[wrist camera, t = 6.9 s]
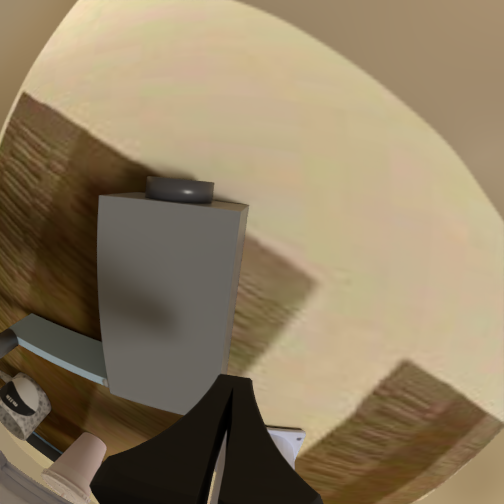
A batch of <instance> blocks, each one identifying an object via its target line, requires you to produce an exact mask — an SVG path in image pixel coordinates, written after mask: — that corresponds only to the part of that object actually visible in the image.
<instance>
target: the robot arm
mask: <svg viewBox="0 0 504 504" xmlns="http://www.w3.org/2000/svg"><path fill="white" fill-rule="evenodd" d="M305 435H306V434H305V431H303V430H291V429H279V428H268V427H266V426H265V424H264V422H263V419H262V417H261V414H260V411H259V409H258V406H257V403H256V399H255V395H254V391H253V385H252V380H251V379H250V378H244V377H238V376H232V375H226V374H219V375H218V376H217V378H216V380H215V382H214V383H213V385H212V386H211V387H210V389H209V390H208V391H207V392H206V394H205V395H204V396H203V397H202V398H201V399H200V401H199V402H198V403H197V404H196V405H195V406H194V407H193V408H192V409H191V410H190V411H189V412H188V413H187V414H185V415H184V416H183V417H182V418H181V419H180V420H178V421H177V422H176V423H175V424H173V425H172V426H171V427H169V428H168V429H166V430H165V431H163V432H162V433H160V434H159V435H157V436H155V437H154V438H152V439H150V440H148V441H146V442H144V443H142V444H140V445H138V446H136V447H134V448H131V449H129V450H126V451H123V452H121V453H118V454H115V455H112V456H109V457H108V458H107V459H106V460H105V461H104V462H103V463H102V465H101V466H100V467H99V468H98V470H97V471H96V473H95V475H94V477H93V479H92V480H91V482H90V485H89V487H90V489H91V491H92V493H93V495H94V496H95V498H96V499H97V501H98V502H99V504H207V501H208V496H209V491H210V486H211V481H212V476H213V472H214V469H215V471H216V476H215V481H214V486H213V491H212V496H211V501H210V504H323V501H322V499H321V496H320V494H318V493H317V492H316V491H315V490H314V489H313V488H311V487H310V486H309V485H308V484H307V483H306V482H305V481H304V480H303V479H302V478H301V477H300V476H299V475H298V474H297V473H296V472H295V467H294V460H295V458H296V456H297V454H298V452H299V449H300V447H301V445H302V443H303V440H304V438H305ZM299 437H300V438H299ZM0 504H73V503H72V502H70V501H68V500H66V499H64V498H63V497H61V496H59V495H57V494H56V493H54V492H52V491H51V490H49V489H47V488H46V487H44V486H43V485H41V484H39V483H38V482H36V481H35V480H33V479H32V478H30V477H29V476H27V475H26V474H25V473H23V472H22V471H20V470H19V469H18V468H16V467H15V466H14V465H12V464H11V463H10V462H8V461H7V459H6V457H5V456H4V454H3V453H2V452H1V451H0Z"/></svg>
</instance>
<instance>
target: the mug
mask: <svg viewBox="0 0 504 504" xmlns="http://www.w3.org/2000/svg"><path fill="white" fill-rule="evenodd" d="M0 378H1V379H3V380H4V381H5V382H6V384H5V385H4V386H3V387H2V388H1V389H0V421H1V423H2V424H3V425H4V426H5V427H6V428H7V429H8V430H9V431H10V432H11V433H12V434H13V435H15V436H16V437H17V438H19V439H21V440H23V441H25V440H26V439H27V438H28V437H29V436H30V434H31V433H32V432H33V431H34V430H35V428H36V427H37V426H38V425H39V424H40V423H41V421H42V420H43V419H44V418H45V417H46V416H47V415H48V413H49V412H50V411H51V403H50V401H49V399H48V397H47V395H46V394H45V392H44V391H43V390H42V388H41V387H40V386H39V385H38V384H37V383H36V382H35V381H34V380H33V379H32V378H31V377H29V376H28V375H26V374H24V373H18V374H17V375H16V376H15V377H13V378H12V377H11V376H10V375H8V374H6V373H4V372H2V371H1V370H0Z"/></svg>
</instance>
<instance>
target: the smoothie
mask: <svg viewBox="0 0 504 504" xmlns="http://www.w3.org/2000/svg"><path fill="white" fill-rule="evenodd" d="M106 449H107V448H106V445H105V444H104V443H103V441H101V440H100V439H99V438H98V437H96V436H95V435H93V434H91V433H88V432H84V433H83V434H82V435H81V436H80V437H79V438H78V439H77V440H76V441H75V442H74V443H73V444H72V445H71V446H70V447H69V448H68V449H67V450H66V451H65V452H64V453H63V454H62V455H61V456H60V457H59V458H58V459H57V460H56V461H55V462H54V463H53V464H52V465H51V466H50V467H49V468H48V469H44V471H43V472H42V474H41V476H42V478H43V480H44V481H45V482H46V483H47V484H48V485H49V486H50V487H51V488H52V489H53V490H55V491H56V492H57V493H59V494H60V495H61V497H63V498H64V499H65V498H66V499H68V500H69V501H72V502H73V503H75V504H89V502H90V501H91V500H90V498H89V496H90V493H91V489H90V487H89V485H90V482H91V480H92V479H93V477H94V475H95V473H96V471H97V470H98V468H99V467H100V465H101V462H102V460H103V457H104V454H105V452H106Z"/></svg>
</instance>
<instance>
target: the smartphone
mask: <svg viewBox="0 0 504 504" xmlns="http://www.w3.org/2000/svg"><path fill="white" fill-rule="evenodd" d="M26 441H27V442H28V443H29V444H31V445H32V446H33V447H34V448H36V449H37V450H38V451H40V452H41V453H42V454H44V455H45V456H46V457H48V458H49V459H50V460H52V461H53V462H55V461H56V460H57V459H58V458H59V457H60V456H61V455H62V454H63V452H61V451H60V450H58V449H57V448H55V447H54V446H53V445H51V444H50V443H48V442H47V441H46V440H44V439H43V438H42V437H40V436H39V435H38V434H36V433H35V432H34V431H33V432H32V433H31V434H30V436H29V437H28V438H27V439H26Z"/></svg>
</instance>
